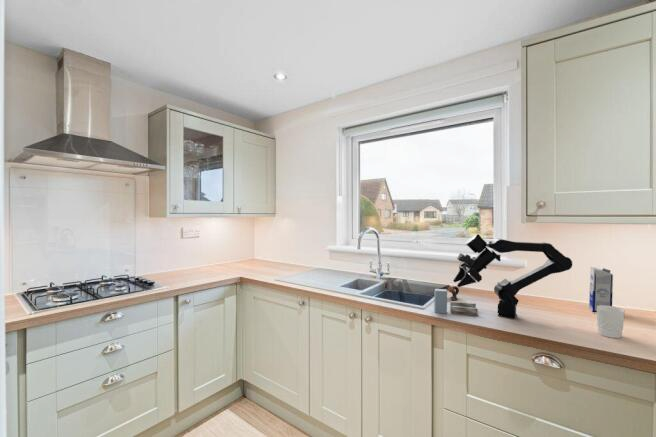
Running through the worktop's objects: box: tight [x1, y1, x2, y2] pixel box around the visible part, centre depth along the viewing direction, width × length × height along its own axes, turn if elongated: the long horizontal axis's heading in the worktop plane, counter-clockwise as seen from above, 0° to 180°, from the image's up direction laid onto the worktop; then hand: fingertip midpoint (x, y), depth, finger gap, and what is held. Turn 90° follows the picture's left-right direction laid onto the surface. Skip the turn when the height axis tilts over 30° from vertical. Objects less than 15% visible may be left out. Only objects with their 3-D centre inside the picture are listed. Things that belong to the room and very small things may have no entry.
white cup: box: [596, 305, 626, 339], centre depth 122 cm, size 8×8×10 cm
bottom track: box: [449, 300, 478, 316], centre depth 149 cm, size 11×8×3 cm
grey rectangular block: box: [433, 288, 448, 314], centre depth 148 cm, size 5×4×10 cm
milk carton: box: [588, 266, 614, 313], centre depth 148 cm, size 7×7×20 cm
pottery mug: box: [439, 284, 460, 302], centre depth 170 cm, size 12×10×8 cm
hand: (455, 283), depth 147 cm, fingers open, 9 cm apart
